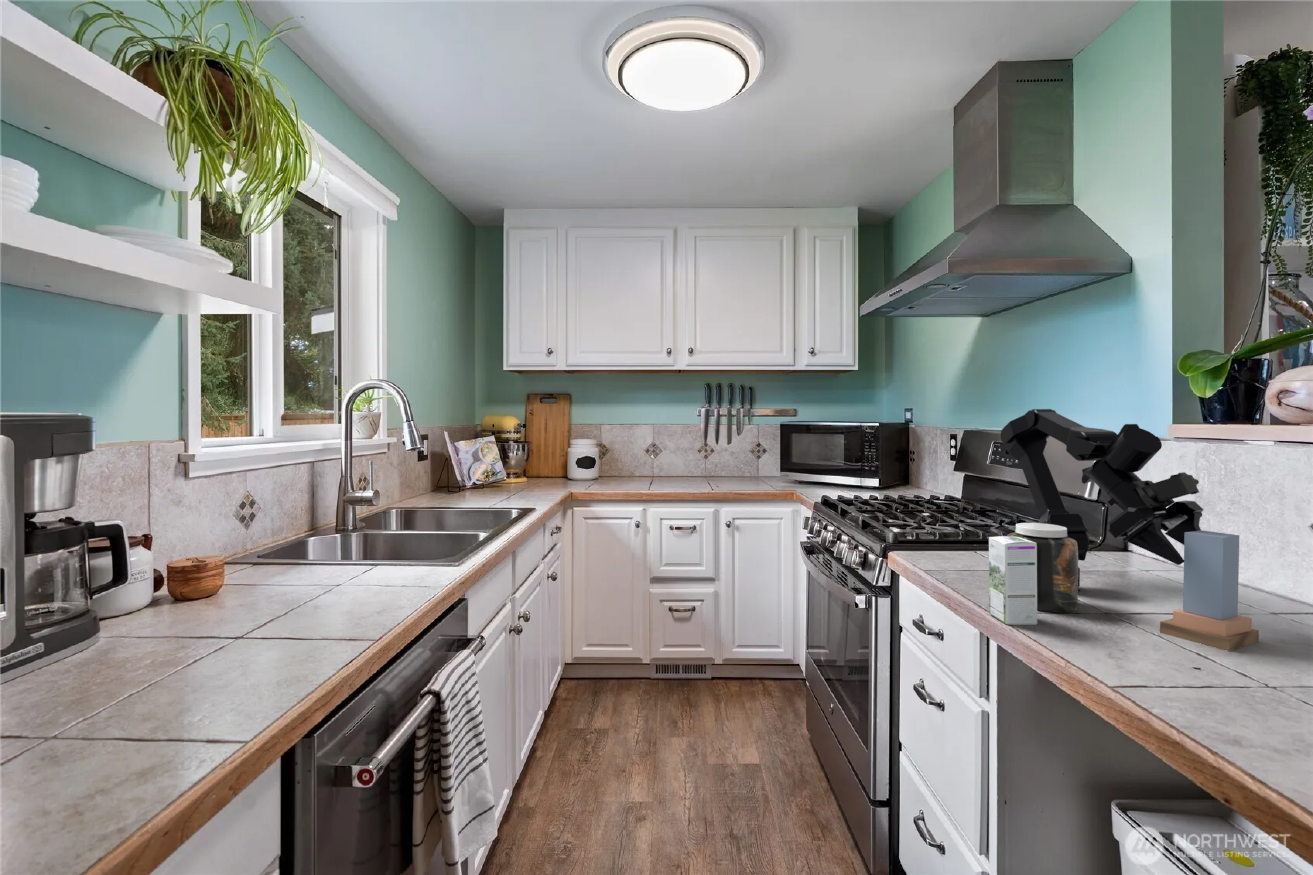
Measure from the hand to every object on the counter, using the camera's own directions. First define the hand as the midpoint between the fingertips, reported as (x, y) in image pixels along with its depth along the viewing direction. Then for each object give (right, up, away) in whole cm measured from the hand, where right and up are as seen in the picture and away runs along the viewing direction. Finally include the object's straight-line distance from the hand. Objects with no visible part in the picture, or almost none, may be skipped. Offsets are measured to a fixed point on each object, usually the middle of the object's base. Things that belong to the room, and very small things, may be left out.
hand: (1197, 560), depth 100 cm
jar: (-15, -12, +18) cm, 26 cm away
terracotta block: (+1, -10, -2) cm, 11 cm away
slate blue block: (+1, -8, -1) cm, 9 cm away
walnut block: (+1, -13, -1) cm, 13 cm away
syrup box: (-26, -12, +8) cm, 30 cm away
